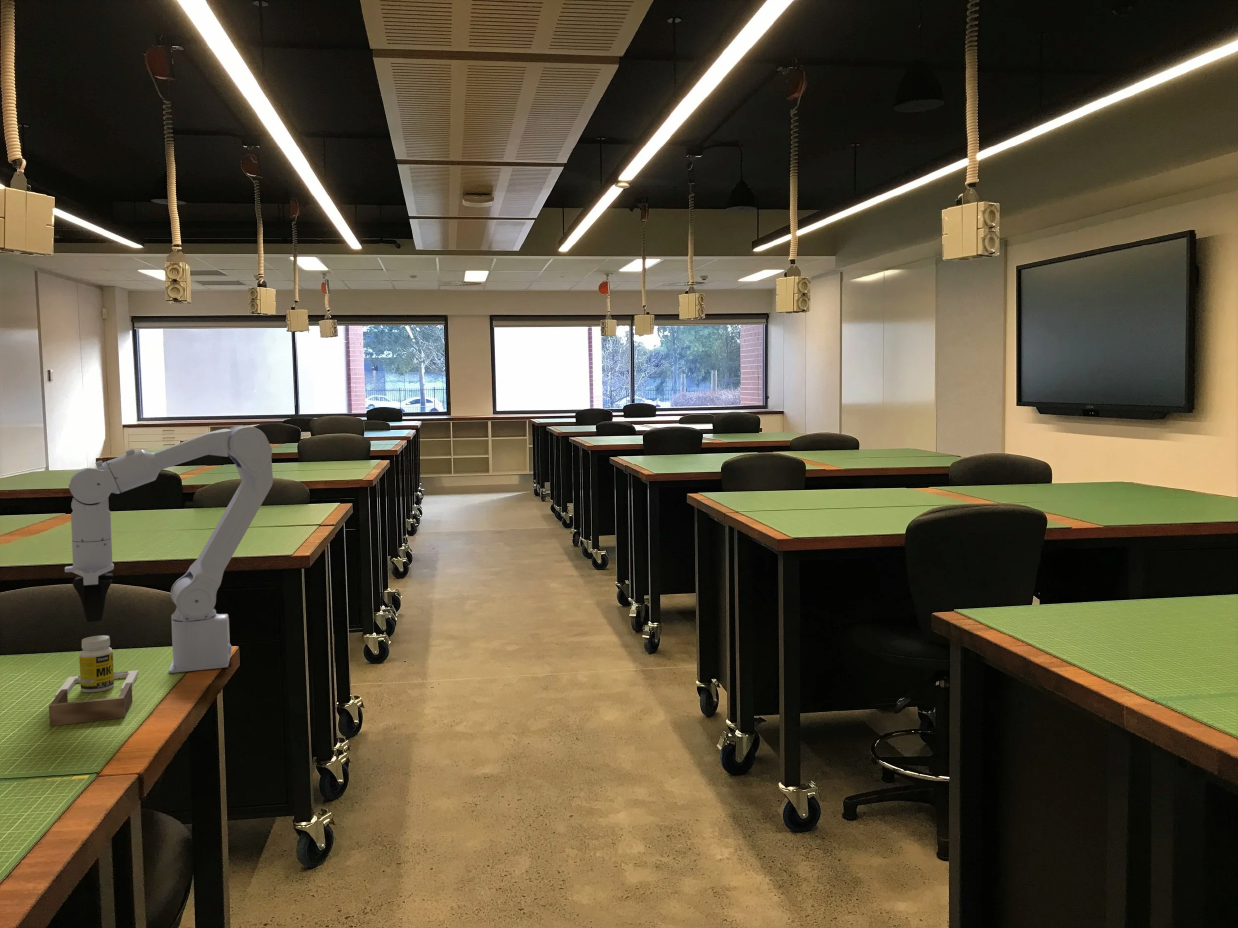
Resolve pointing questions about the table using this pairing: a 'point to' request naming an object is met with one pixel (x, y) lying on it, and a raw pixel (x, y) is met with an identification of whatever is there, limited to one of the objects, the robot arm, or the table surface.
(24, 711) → the table surface
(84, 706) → the holder
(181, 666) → the robot arm
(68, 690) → the dock
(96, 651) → the supplement bottle
